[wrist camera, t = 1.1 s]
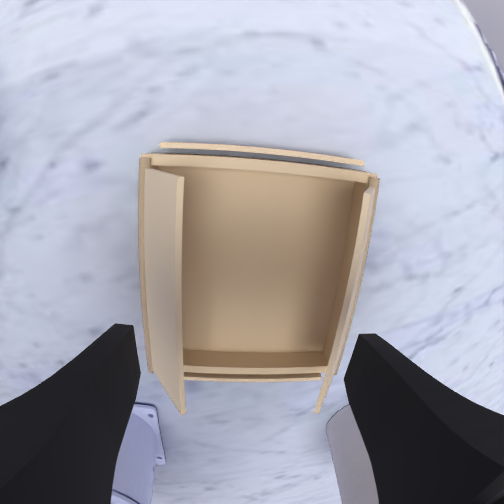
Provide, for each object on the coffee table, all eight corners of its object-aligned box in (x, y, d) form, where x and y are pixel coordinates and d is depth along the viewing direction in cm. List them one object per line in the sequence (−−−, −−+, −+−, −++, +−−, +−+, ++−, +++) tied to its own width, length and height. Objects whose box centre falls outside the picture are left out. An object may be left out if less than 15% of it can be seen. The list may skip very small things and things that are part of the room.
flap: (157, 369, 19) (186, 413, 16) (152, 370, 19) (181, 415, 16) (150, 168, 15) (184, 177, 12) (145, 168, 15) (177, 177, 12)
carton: (326, 360, 24) (336, 383, 21) (155, 357, 22) (148, 381, 20) (364, 161, 19) (384, 164, 16) (150, 142, 17) (139, 142, 15)
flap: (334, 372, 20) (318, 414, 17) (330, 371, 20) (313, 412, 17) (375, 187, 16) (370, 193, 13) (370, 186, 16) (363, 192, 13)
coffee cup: (411, 409, 28) (473, 512, 14) (341, 457, 29) (379, 564, 15) (375, 371, 25) (454, 507, 11) (291, 429, 26) (326, 568, 12)
